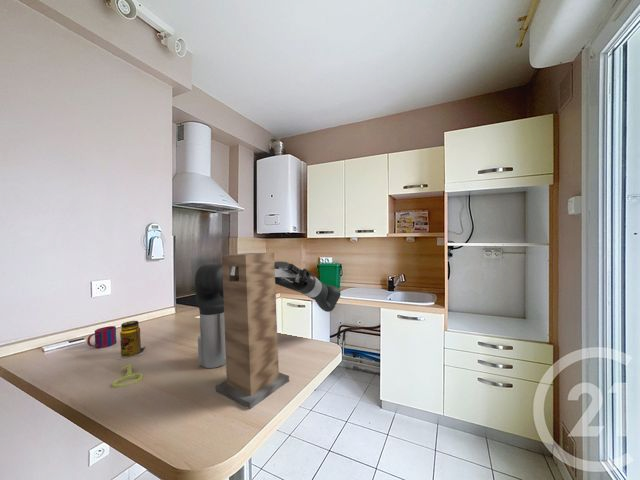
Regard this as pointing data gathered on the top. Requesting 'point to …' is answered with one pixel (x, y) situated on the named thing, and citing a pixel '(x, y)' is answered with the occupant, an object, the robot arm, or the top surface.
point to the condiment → (130, 340)
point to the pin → (278, 272)
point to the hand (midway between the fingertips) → (279, 266)
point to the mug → (104, 337)
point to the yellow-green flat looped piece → (127, 377)
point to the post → (250, 329)
